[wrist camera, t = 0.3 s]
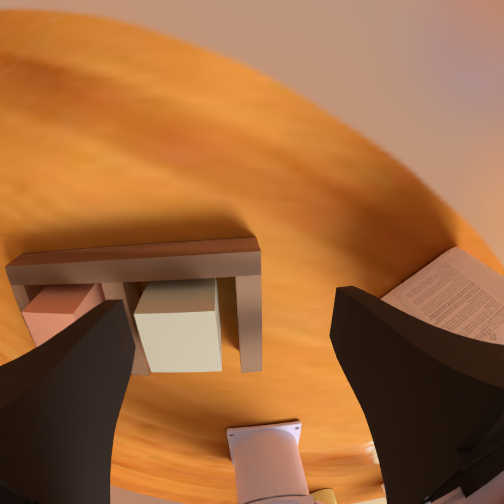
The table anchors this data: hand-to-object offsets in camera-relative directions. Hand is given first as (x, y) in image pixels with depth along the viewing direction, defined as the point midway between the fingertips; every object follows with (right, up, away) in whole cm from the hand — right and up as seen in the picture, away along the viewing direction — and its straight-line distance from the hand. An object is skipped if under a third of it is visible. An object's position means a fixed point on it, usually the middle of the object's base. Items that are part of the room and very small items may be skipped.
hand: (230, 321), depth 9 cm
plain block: (-4, -1, +11) cm, 12 cm away
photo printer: (+15, -1, +13) cm, 20 cm away
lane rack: (-8, -2, +11) cm, 13 cm away
